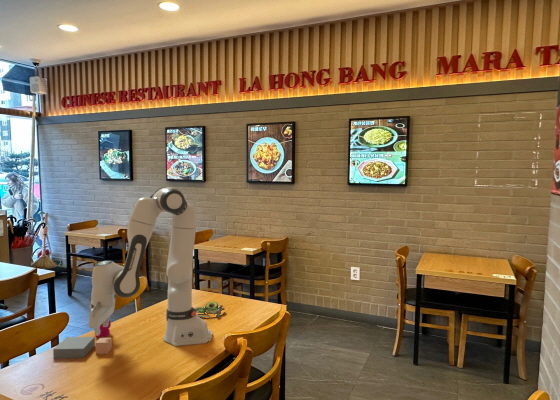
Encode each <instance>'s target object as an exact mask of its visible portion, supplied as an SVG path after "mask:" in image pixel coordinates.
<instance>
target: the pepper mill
mask: <svg viewBox="0 0 560 400" xmlns="http://www.w3.org/2000/svg"><path fill="white" fill-rule="evenodd" d="M103 323H104V322H103ZM103 323H102V324H101V325H100V334H99V335H98V336H96V335H95V334H94V337H95V338H106V337H107V336H110V333H111V332H110V331H111V330H110V328H111V326H112V325H111V320H110V319H109V322H108V326H107V327H103Z"/></svg>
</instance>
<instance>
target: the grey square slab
mask: <svg viewBox="0 0 560 400" xmlns="http://www.w3.org/2000/svg"><path fill="white" fill-rule="evenodd" d="M94 347H96V336H67V337H65V338H63V340H62V341H60V342H59V343H58V344H57V345H56V346H55V347H54V348H53V351H52V352H53V353H52V354H53V359H83V358H85V357H86V356H87V355H88V354H89V353H90V351H91V350H92V349H93V348H94Z"/></svg>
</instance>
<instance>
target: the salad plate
mask: <svg viewBox="0 0 560 400" xmlns="http://www.w3.org/2000/svg"><path fill="white" fill-rule="evenodd" d="M218 306H220V307H219V308H218ZM202 307H203V308H202ZM204 307H205V308H204ZM222 307H223V308H224V306H223V305H222V304H220V305H219V303H218V301H217V302H216V301H210V302H209V301H208V302H207V303H205V306H198V307H195V308H196V313H205V312H206V313H207V314H214V315H215V314H217V315H216V317H215V318H219V317H221V316H220V314H221V311H222V309H223V308H222ZM218 309H219V310H218ZM196 315H197V314H196ZM197 316H198V317H210V316H208V315H201V314H199V315H197Z"/></svg>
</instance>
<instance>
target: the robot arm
mask: <svg viewBox="0 0 560 400" xmlns="http://www.w3.org/2000/svg"><path fill="white" fill-rule="evenodd" d="M162 212H167V213H169V214H171V217H172V218H171V219H172V223H171V231H170V239H169V240H170V243H169V247H168V248H169V249H168V256H167V261H166V270H165V271H166V275H167V278H168V283H167V285H168V286H167V308H166V312H165V313H166V315H165V317H166V328H165V333H164V337H163V340H164V341H165V342H166V343H168V344H171V345H173V346H174V347H179V346H190V345H191V346H192V345H198V344H199V345H200V344H201V343H202V344H208V343H209V342H210V341H211V340H212V339H211V338H213V336H212V335H213V331H212V330H211V329H209V328H208V324H207V322H206V320H204V318H200V317H199V316H197V315H196V308H197V307H193V305H192V303H193V301H192V300H193V296H192V295H193V293H192V292H193V259H194V251H195V250H194V249H195V239H196V230H197V210H196V208H195V206H194V205H192V204H191V203H187V200H186V198H185V195H184V194H183V193H182V191H180V190H179V189H177V188H174V187H172V186H171V187H170V186H168V187H167V186H164V187H160V188H158V189H157V190H156V191H155V192H154V193H153V194H152V195H150V196H149V197H148V196H143V197H141V198H138V200H137V201H136V202H135V205H134V206H133V208H132V211H131V213H130V217H129V219H128V223H127V229H126V237H127V241H128V250H127V256H126V259H125V262H124V266H122V265H120V264H117V263H116V262H114V261H113V260H103V261H100V262H98V263H96V264H95V265H94V267H93V269H92V274H91V284H92V289H91V299H90V303H91V305H92V306H93V308H91V309H90V311H89V318H88V319H89V320H88V327H89V329H93V330H94V336H95V335H96V336H98V335H99V334H100V325H101V324H102V323H103V322H104V323H103V327H107V326H108V322H109V320H110V317H111V315H112V314H113V313H114V311H115V307H116V298H117V296H118V297H120V298H132V297H133V296H135V295H136V294H137V293H138V291H140V288H141V280H140V270H141V266H142V263H143V258H144V254H145V251H146V249H147V246H148V243H149V242H150V240H151V237H152V235H153V233H154V229H155V226H156V223H157V220H158V217H159V215H161V213H162ZM96 336H95V337H96ZM209 340H210V341H209ZM208 341H209V342H208ZM207 342H208V343H207ZM202 344H201V345H202Z"/></svg>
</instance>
